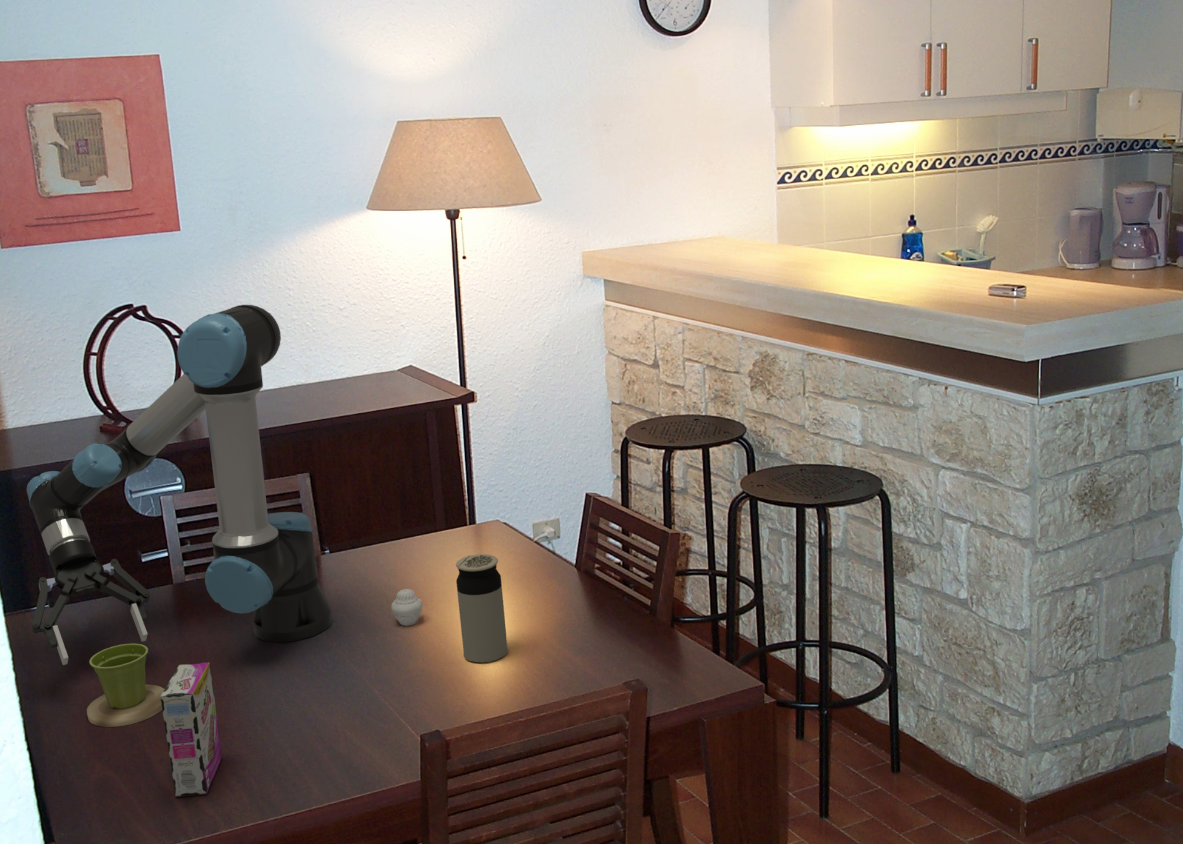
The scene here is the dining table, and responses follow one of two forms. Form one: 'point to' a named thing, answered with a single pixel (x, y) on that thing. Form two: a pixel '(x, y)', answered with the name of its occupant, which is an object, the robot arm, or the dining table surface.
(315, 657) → the dining table surface
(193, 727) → the candy bar box
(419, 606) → the muffin
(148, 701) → the plate
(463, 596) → the travel mug
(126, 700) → the plant pot
